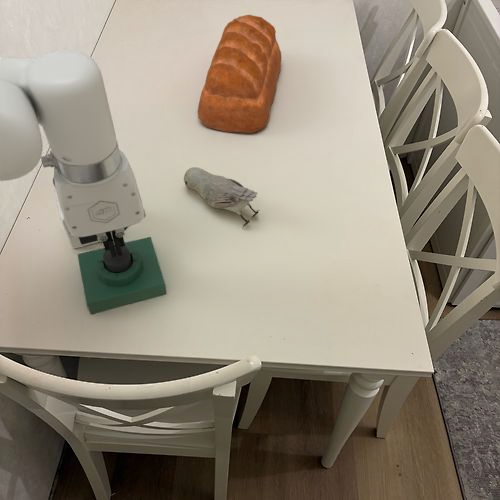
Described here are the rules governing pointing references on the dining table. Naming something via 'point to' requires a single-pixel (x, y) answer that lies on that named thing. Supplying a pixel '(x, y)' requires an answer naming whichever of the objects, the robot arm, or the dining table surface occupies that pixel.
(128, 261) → the dark grey push button
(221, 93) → the bread
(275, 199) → the dining table surface
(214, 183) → the decorative bird
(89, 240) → the container
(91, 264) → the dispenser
